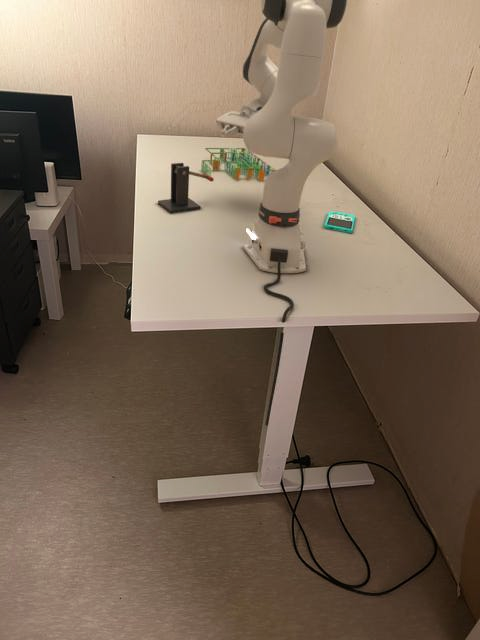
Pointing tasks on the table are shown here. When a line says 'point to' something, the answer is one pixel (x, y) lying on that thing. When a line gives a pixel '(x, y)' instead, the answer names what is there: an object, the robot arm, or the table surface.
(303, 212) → the table surface
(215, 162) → the house model
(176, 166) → the lever
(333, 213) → the handheld game console
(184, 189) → the bracket
